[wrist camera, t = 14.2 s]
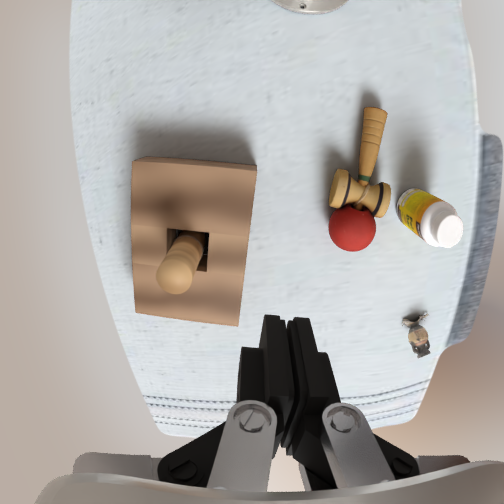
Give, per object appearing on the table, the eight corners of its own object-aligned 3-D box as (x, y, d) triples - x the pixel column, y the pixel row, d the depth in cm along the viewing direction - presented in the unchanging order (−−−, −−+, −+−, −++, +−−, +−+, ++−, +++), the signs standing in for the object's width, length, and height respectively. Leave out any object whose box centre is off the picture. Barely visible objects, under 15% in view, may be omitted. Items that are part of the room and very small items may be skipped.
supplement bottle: (387, 206, 39) (423, 231, 30) (414, 179, 37) (456, 197, 28) (408, 233, 40) (444, 263, 31) (434, 207, 39) (474, 231, 29)
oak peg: (181, 220, 40) (154, 258, 29) (209, 223, 40) (193, 262, 29) (180, 247, 41) (155, 292, 30) (207, 250, 42) (192, 297, 31)
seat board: (146, 156, 37) (132, 161, 32) (256, 165, 37) (257, 171, 33) (146, 294, 44) (135, 312, 40) (239, 306, 45) (238, 326, 40)
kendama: (334, 104, 35) (309, 240, 40) (359, 96, 29) (330, 254, 34) (383, 121, 37) (359, 247, 42) (411, 118, 31) (384, 261, 36)
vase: (424, 336, 48) (435, 358, 42) (397, 342, 49) (407, 365, 43) (428, 312, 46) (441, 334, 40) (400, 318, 47) (411, 341, 41)
